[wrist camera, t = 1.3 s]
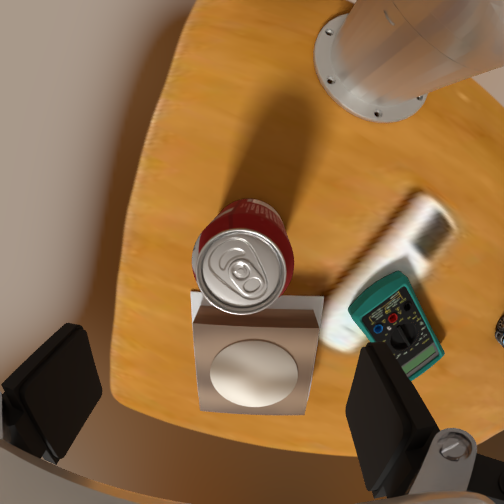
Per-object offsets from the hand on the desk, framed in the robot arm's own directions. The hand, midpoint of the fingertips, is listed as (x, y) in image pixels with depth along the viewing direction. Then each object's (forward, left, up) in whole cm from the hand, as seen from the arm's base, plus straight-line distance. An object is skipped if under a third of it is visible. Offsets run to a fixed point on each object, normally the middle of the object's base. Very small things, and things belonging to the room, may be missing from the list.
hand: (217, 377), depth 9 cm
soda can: (0, 0, -22) cm, 22 cm away
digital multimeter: (+11, +18, -22) cm, 31 cm away
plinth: (+14, +1, -21) cm, 25 cm away
